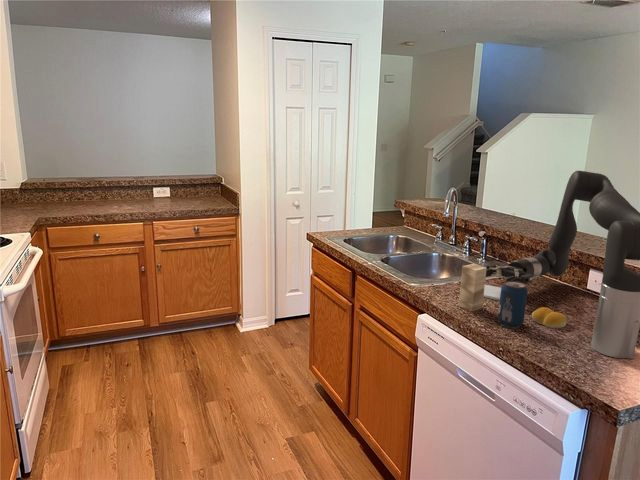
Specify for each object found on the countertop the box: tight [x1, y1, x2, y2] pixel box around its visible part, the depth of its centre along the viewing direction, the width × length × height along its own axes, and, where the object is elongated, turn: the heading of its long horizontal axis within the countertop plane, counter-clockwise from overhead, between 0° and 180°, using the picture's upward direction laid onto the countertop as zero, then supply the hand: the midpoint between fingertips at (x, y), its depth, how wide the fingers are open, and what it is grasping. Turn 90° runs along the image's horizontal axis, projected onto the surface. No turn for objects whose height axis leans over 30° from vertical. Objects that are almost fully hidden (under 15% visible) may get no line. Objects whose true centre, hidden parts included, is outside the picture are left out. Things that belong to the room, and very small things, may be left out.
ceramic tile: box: [483, 284, 501, 302], centre depth 160 cm, size 11×11×1 cm
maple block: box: [458, 263, 487, 312], centre depth 145 cm, size 5×5×13 cm
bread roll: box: [531, 307, 568, 329], centre depth 136 cm, size 8×9×4 cm
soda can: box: [497, 280, 528, 329], centre depth 134 cm, size 7×7×12 cm
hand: (495, 277), depth 151 cm, fingers open, 8 cm apart
